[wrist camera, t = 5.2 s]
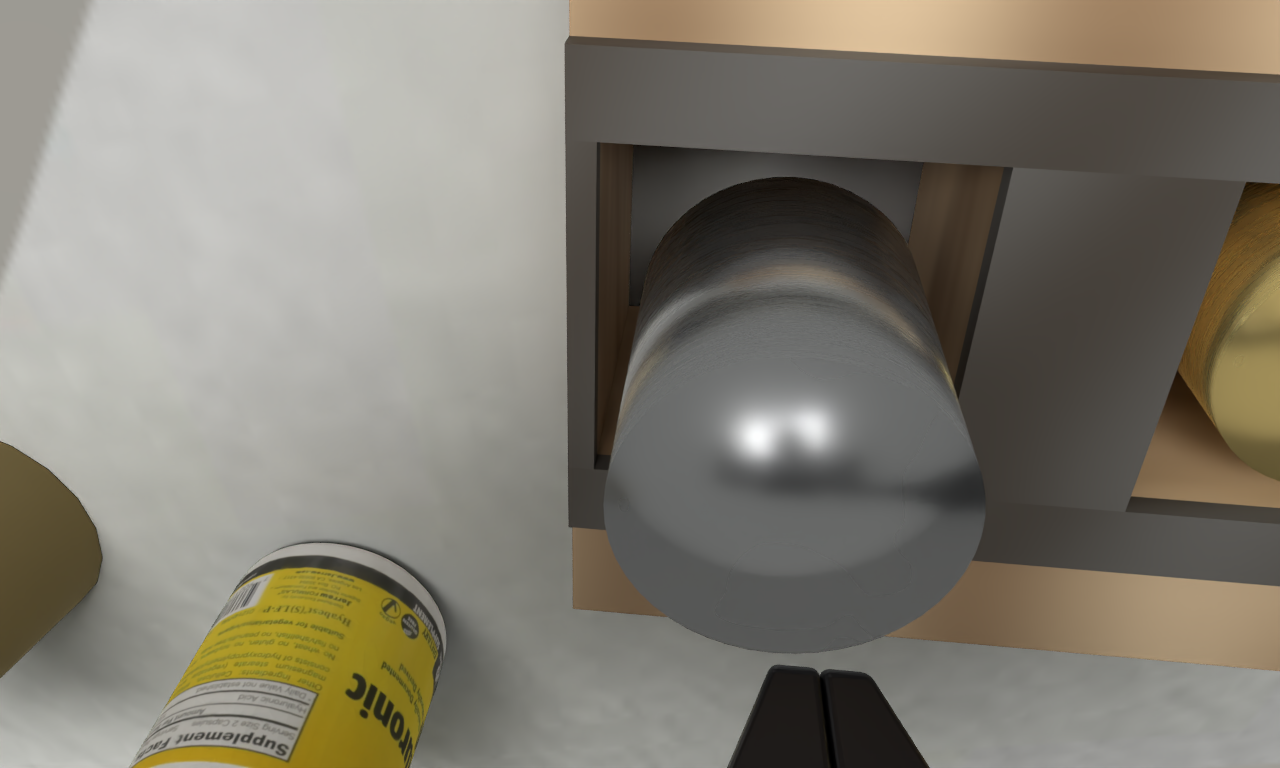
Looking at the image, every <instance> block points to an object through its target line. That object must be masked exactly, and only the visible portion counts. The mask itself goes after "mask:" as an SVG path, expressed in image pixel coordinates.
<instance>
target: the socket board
mask: <svg viewBox="0 0 1280 768" xmlns="http://www.w3.org/2000/svg"><path fill="white" fill-rule="evenodd" d="M569 22H570V36H569V38H568V39H567V41H566V42H565V143H566V264H567V384H568V505H569V527H572V544H573V609H583V610H594V611H605V612H617V613H628V614H639V615H651V616H662V617H668V616H666V615H665V614H664V613H662V612H661V611H660V610H658V609H657V608H656V607H654V606H653V605H652V604H651V603H650V602H649V601H648V600H647V599H646V598H645V597H644V596H642V595H641V594H640V593H639V592H638V590H637V589H636V588H635V587H634V586H633V584H632V583H631V582H630V581H629V579H628V578H627V577H626V575H625V574H624V572H623V570H622V569H621V567H620V565H619V564H618V562H617V560H616V558H615V556H614V553H613V551H612V548H611V546H610V543H609V540H608V536H607V532H606V527H605V522H604V507H603V503H604V493H605V484H606V479H607V474H608V469H609V463H610V458H611V453H612V448H613V443H614V438H615V432H616V427H617V422H618V417H619V412H620V406H621V401H622V396H623V391H624V386H625V381H626V375H627V370H628V365H629V360H630V355H631V349H632V344H633V339H634V334H635V329H636V324H637V318H638V313H639V308H640V306H629V279H630V244H631V208H632V173H633V144H635V145H652V146H668V147H685V148H701V149H718V150H734V151H751V152H767V153H783V154H800V155H816V156H833V157H849V158H866V159H882V160H899V161H915V162H924V163H923V168H922V173H921V179H920V184H919V190H918V195H917V200H916V206H915V211H914V216H913V222H912V227H911V232H910V238H909V243H908V247H909V249H910V251H911V253H912V256H913V259H914V262H915V264H916V267H917V270H918V274H919V277H920V280H921V283H922V286H923V289H924V293H925V296H926V299H927V302H928V305H929V309H930V312H931V315H932V318H933V321H934V324H935V328H936V331H937V334H938V337H939V340H940V343H941V347H942V350H943V353H944V356H945V359H946V363H947V366H948V369H949V372H950V375H951V378H952V382H953V385H954V388H955V391H956V394H957V398H958V401H959V404H960V407H961V410H962V413H963V417H964V420H965V423H966V426H967V429H968V433H969V436H970V439H971V442H972V445H973V448H974V452H975V455H976V458H977V461H978V464H979V467H980V471H981V474H982V477H983V483H984V490H985V496H986V508H985V521H984V527H983V532H982V537H981V539H980V542H979V545H978V548H977V550H976V553H975V555H974V557H973V559H972V561H971V563H970V564H969V566H968V568H967V570H966V572H965V573H964V574H963V576H962V577H961V578H960V580H959V581H958V582H957V583H956V585H955V586H954V587H953V589H952V590H951V591H950V592H949V593H948V594H947V595H946V596H945V597H944V598H943V599H942V600H941V601H940V602H939V603H937V604H936V605H935V606H934V607H932V608H931V609H930V610H928V611H927V612H926V613H925V614H923V615H922V616H921V617H919V618H917V619H916V620H914V621H912V622H911V623H909V624H907V625H906V626H904V627H902V628H900V629H898V630H896V631H894V632H891V633H889V634H887V635H885V636H889V637H900V638H911V639H923V640H934V641H945V642H957V643H968V644H979V645H991V646H1002V647H1013V648H1025V649H1036V650H1047V651H1059V652H1070V653H1081V654H1093V655H1104V656H1115V657H1127V658H1138V659H1149V660H1161V661H1172V662H1183V663H1194V664H1206V665H1217V666H1228V667H1240V668H1251V669H1262V670H1274V671H1280V481H1277V480H1275V479H1272V478H1270V477H1267V476H1265V475H1263V474H1261V473H1259V472H1258V471H1256V470H1254V469H1252V468H1251V467H1250V466H1248V465H1247V464H1246V463H1244V462H1243V461H1242V460H1240V459H1239V457H1238V456H1237V455H1236V454H1235V453H1234V452H1233V451H1232V450H1231V449H1230V448H1229V446H1228V445H1227V443H1226V442H1225V440H1224V439H1223V437H1222V436H1221V434H1220V433H1219V431H1218V430H1217V428H1216V427H1215V425H1214V424H1213V422H1212V421H1211V419H1210V418H1209V416H1208V415H1207V413H1206V412H1205V410H1204V409H1203V408H1202V406H1201V405H1200V403H1199V402H1198V400H1197V399H1196V397H1195V396H1194V394H1193V393H1192V391H1191V390H1190V388H1189V387H1188V385H1187V384H1186V382H1185V381H1184V379H1183V378H1182V376H1181V375H1180V373H1179V372H1178V370H1177V369H1178V366H1179V364H1180V361H1181V358H1182V356H1183V353H1184V350H1185V347H1186V345H1187V342H1188V339H1189V337H1190V334H1191V331H1192V328H1193V326H1194V323H1195V320H1196V317H1197V315H1198V312H1199V309H1200V307H1201V304H1202V301H1203V298H1204V296H1205V293H1206V290H1207V287H1208V285H1209V282H1210V279H1211V277H1212V274H1213V271H1214V268H1215V266H1216V263H1217V260H1218V257H1219V255H1220V252H1221V249H1222V247H1223V244H1224V241H1225V238H1226V236H1227V233H1228V230H1229V227H1230V225H1231V222H1232V219H1233V217H1234V214H1235V211H1236V208H1237V206H1238V203H1239V200H1240V198H1241V195H1242V192H1243V189H1244V187H1245V184H1246V182H1261V183H1277V184H1280V0H569Z"/></svg>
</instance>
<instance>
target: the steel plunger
mask: <svg viewBox="0 0 1280 768" xmlns="http://www.w3.org/2000/svg"><path fill="white" fill-rule="evenodd" d="M603 507H604V522H605V527H606V532H607V536H608V540H609V543H610V546H611V548H612V551H613V553H614V556H615V558H616V560H617V562H618V564H619V565H620V567H621V569H622V570H623V572H624V574H625V575H626V577H627V578H628V579H629V581H630V582H631V583H632V584H633V586H634V587H635V588H636V589H637V590H638V592H639V593H640V594H641V595H642V596H644V597H645V598H646V599H647V600H648V601H649V602H650V603H651V604H652V605H653V606H654V607H656V608H657V609H658V610H660V611H661V612H662V613H664V614H665V615H666V616H668V617H669V618H670V619H672V620H674V621H676V622H677V623H679V624H681V625H682V626H684V627H686V628H687V629H690V630H692V631H694V632H696V633H698V634H701V635H703V636H705V637H707V638H710V639H713V640H716V641H719V642H722V643H725V644H728V645H732V646H737V647H741V648H745V649H750V650H757V651H764V652H772V653H815V652H823V651H830V650H838V649H843V648H847V647H851V646H855V645H859V644H863V643H866V642H869V641H871V640H874V639H877V638H880V637H883V636H885V635H887V634H889V633H891V632H894V631H896V630H898V629H900V628H902V627H904V626H906V625H907V624H909V623H911V622H912V621H914V620H916V619H917V618H919V617H921V616H922V615H923V614H925V613H926V612H927V611H928V610H930V609H931V608H932V607H934V606H935V605H936V604H937V603H939V602H940V601H941V600H942V599H943V598H944V597H945V596H946V595H947V594H948V593H949V592H950V591H951V590H952V589H953V587H954V586H955V585H956V583H957V582H958V581H959V580H960V578H961V577H962V576H963V574H964V573H965V572H966V570H967V568H968V566H969V564H970V563H971V561H972V559H973V557H974V555H975V553H976V550H977V548H978V545H979V542H980V539H981V537H982V532H983V527H984V521H985V508H986V496H985V490H984V483H983V477H982V474H981V471H980V467H979V464H978V461H977V458H976V455H975V452H974V448H973V445H972V442H971V439H970V436H969V433H968V429H967V426H966V423H965V420H964V417H963V413H962V410H961V407H960V404H959V401H958V398H957V394H956V391H955V388H954V385H953V382H952V378H951V375H950V372H949V369H948V366H947V363H946V359H945V356H944V353H943V350H942V347H941V343H940V340H939V337H938V334H937V331H936V328H935V324H934V321H933V318H932V315H931V312H930V309H929V305H928V302H927V299H926V296H925V293H924V289H923V286H922V283H921V280H920V277H919V274H918V270H917V267H916V264H915V262H914V259H913V256H912V253H911V251H910V249H909V247H908V245H907V243H906V242H905V240H904V238H903V236H902V235H901V234H900V232H899V231H898V230H897V228H896V227H895V226H894V224H893V223H892V222H891V221H890V220H889V219H888V218H887V217H886V216H885V215H884V214H883V213H882V212H881V211H880V210H878V209H877V208H876V207H874V206H873V205H872V204H870V203H869V202H868V201H867V200H865V199H863V198H861V197H859V196H858V195H856V194H854V193H852V192H851V191H848V190H846V189H843V188H841V187H838V186H836V185H833V184H830V183H826V182H822V181H818V180H814V179H806V178H798V177H772V178H764V179H756V180H752V181H748V182H744V183H740V184H737V185H734V186H731V187H729V188H726V189H724V190H721V191H719V192H717V193H715V194H713V195H711V196H710V197H708V198H706V199H704V200H702V201H701V202H700V203H698V204H697V205H695V206H694V207H693V208H691V209H690V210H688V211H687V212H686V213H685V214H684V215H683V216H682V217H681V218H680V219H679V220H678V221H677V222H676V223H675V224H674V225H673V226H672V227H671V229H670V230H669V231H668V232H667V234H666V235H665V236H664V237H663V239H662V241H661V242H660V244H659V246H658V247H657V249H656V251H655V253H654V255H653V257H652V260H651V262H650V264H649V267H648V271H647V275H646V278H645V282H644V287H643V292H642V298H641V303H640V308H639V313H638V318H637V324H636V329H635V334H634V339H633V344H632V349H631V355H630V360H629V365H628V370H627V375H626V381H625V386H624V391H623V396H622V401H621V406H620V412H619V417H618V422H617V427H616V432H615V438H614V443H613V448H612V453H611V458H610V463H609V469H608V474H607V479H606V484H605V493H604V503H603Z"/></svg>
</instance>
